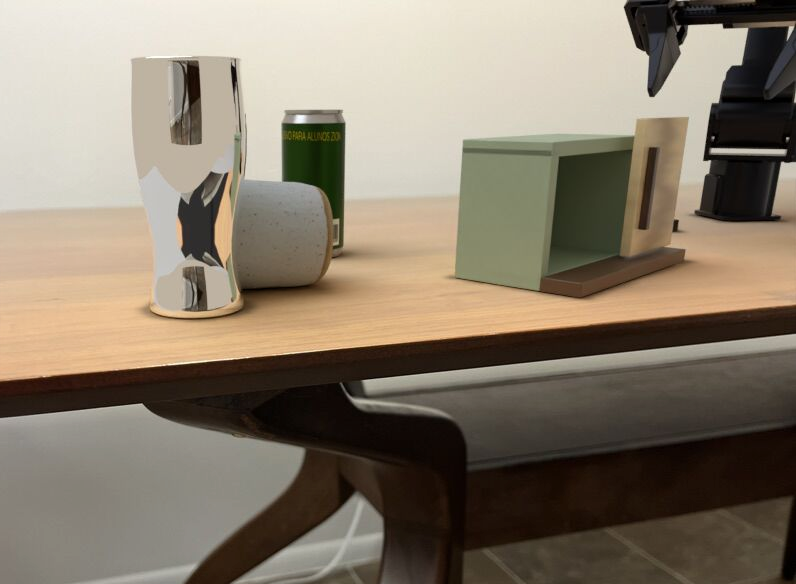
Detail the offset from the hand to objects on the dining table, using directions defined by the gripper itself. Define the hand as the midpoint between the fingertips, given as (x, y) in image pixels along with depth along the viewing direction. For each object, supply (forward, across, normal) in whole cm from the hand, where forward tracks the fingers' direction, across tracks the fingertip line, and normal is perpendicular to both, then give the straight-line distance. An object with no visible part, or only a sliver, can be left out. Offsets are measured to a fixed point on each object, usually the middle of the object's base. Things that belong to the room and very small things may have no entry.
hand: (705, 94), depth 67 cm
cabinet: (+19, -3, -3) cm, 20 cm away
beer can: (+26, -22, -10) cm, 35 cm away
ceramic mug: (+33, -17, -19) cm, 41 cm away
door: (+15, +1, 0) cm, 15 cm away
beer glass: (+38, -14, -25) cm, 47 cm away
